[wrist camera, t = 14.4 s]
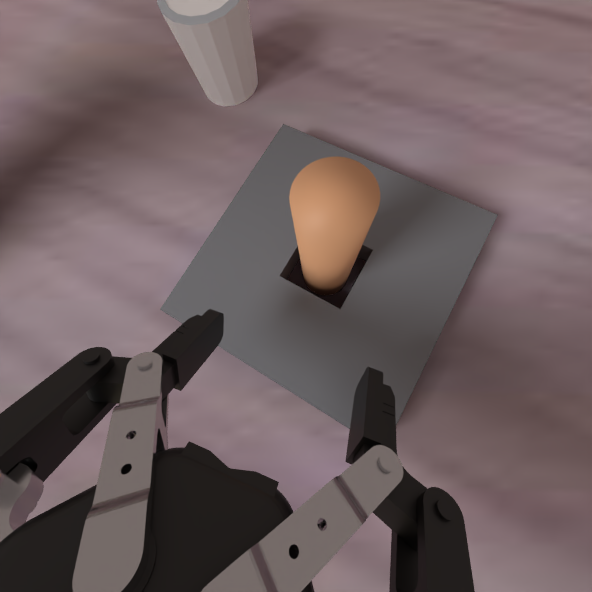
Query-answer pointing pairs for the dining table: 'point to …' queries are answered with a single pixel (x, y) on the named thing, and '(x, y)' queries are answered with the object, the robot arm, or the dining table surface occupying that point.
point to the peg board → (362, 297)
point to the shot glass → (216, 45)
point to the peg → (332, 219)
